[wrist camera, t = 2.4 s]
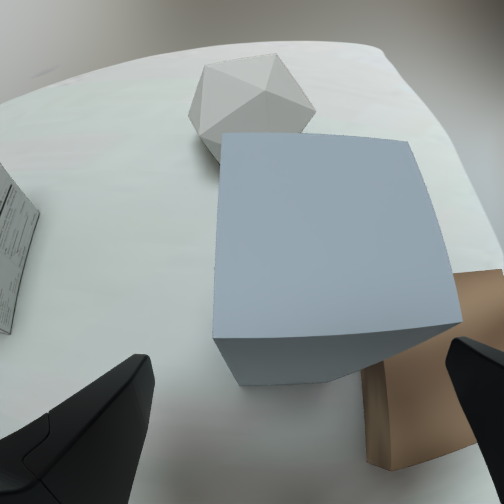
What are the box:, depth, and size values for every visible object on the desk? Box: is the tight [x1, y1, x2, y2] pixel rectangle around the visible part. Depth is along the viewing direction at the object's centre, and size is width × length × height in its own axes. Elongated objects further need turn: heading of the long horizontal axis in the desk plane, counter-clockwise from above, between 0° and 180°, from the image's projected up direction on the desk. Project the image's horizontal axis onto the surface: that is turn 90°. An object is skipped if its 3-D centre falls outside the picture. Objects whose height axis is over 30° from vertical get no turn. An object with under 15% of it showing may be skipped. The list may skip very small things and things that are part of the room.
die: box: [188, 54, 316, 164], centre depth 22 cm, size 8×9×10 cm
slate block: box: [213, 133, 463, 386], centre depth 12 cm, size 5×5×13 cm
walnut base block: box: [360, 269, 504, 471], centre depth 16 cm, size 10×10×4 cm
